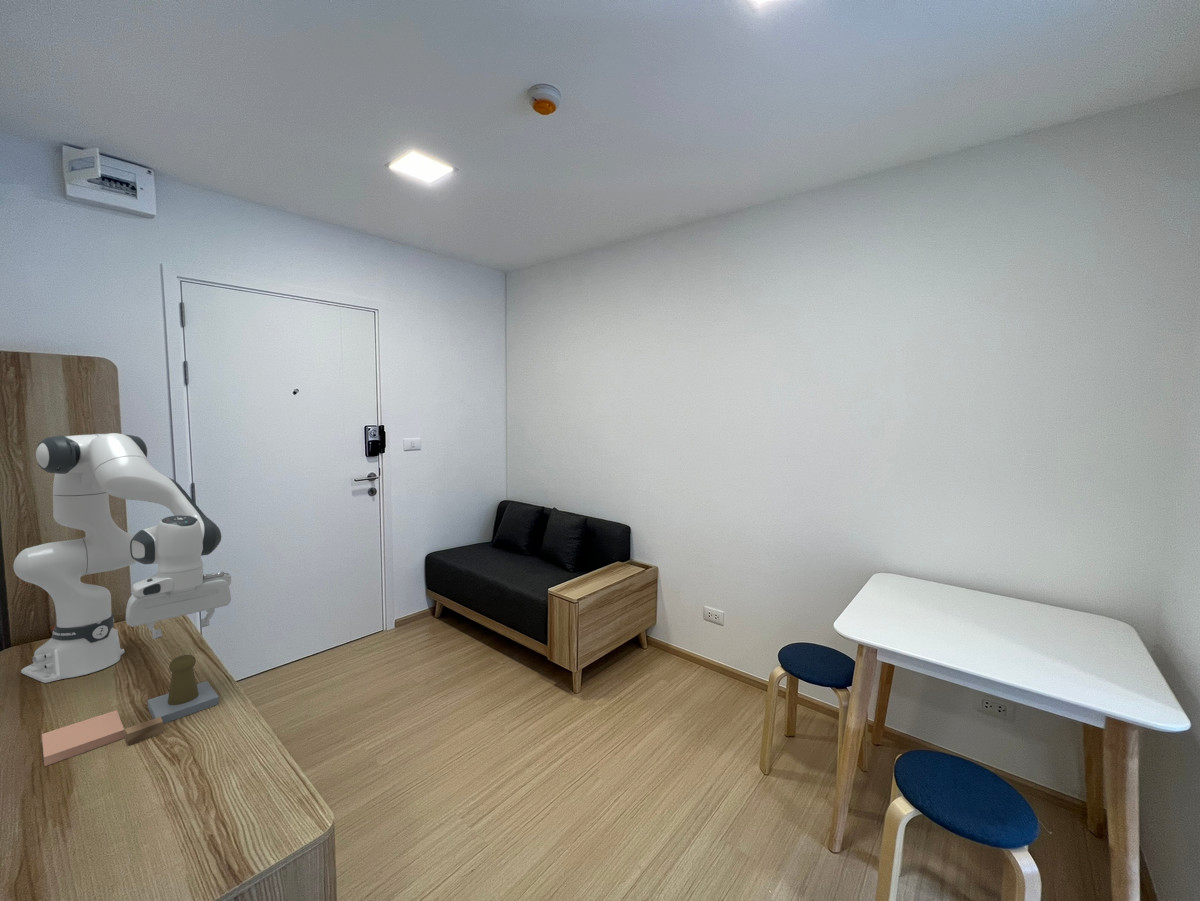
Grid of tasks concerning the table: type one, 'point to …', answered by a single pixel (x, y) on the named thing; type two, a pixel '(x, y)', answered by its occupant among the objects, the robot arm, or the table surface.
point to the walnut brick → (143, 731)
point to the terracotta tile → (81, 737)
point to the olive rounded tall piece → (182, 680)
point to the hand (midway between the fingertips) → (181, 631)
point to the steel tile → (173, 712)
